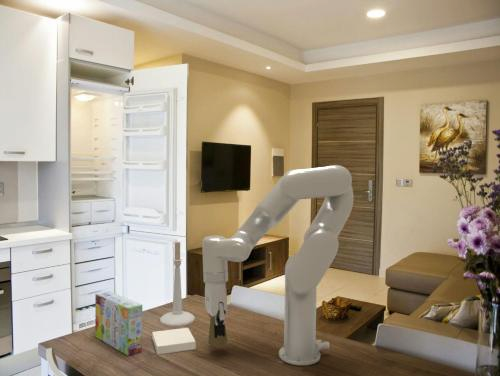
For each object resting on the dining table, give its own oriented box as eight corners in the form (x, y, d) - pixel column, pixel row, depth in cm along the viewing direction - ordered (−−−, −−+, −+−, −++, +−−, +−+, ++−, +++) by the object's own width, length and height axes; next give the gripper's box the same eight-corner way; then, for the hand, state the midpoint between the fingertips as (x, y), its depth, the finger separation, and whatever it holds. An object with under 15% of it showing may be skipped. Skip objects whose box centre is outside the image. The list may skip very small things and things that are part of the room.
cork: (224, 345, 127) (223, 310, 127) (205, 344, 129) (204, 309, 128) (229, 337, 133) (228, 303, 133) (211, 336, 135) (210, 302, 134)
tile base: (188, 334, 145) (188, 327, 145) (195, 349, 133) (195, 341, 133) (152, 339, 141) (152, 331, 141) (157, 354, 129) (157, 346, 129)
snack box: (143, 351, 132) (143, 303, 131) (127, 357, 128) (127, 308, 127) (109, 332, 146) (109, 289, 145) (94, 337, 142) (93, 293, 141)
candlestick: (199, 315, 163) (199, 238, 162) (187, 327, 151) (187, 244, 149) (168, 312, 166) (168, 237, 165) (154, 324, 154) (153, 242, 152)
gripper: (197, 271, 137) (199, 327, 138) (210, 284, 121) (212, 347, 122) (220, 268, 139) (222, 323, 140) (235, 281, 123) (237, 342, 124)
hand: (217, 333), depth 131 cm, fingers closed on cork, 3 cm apart
